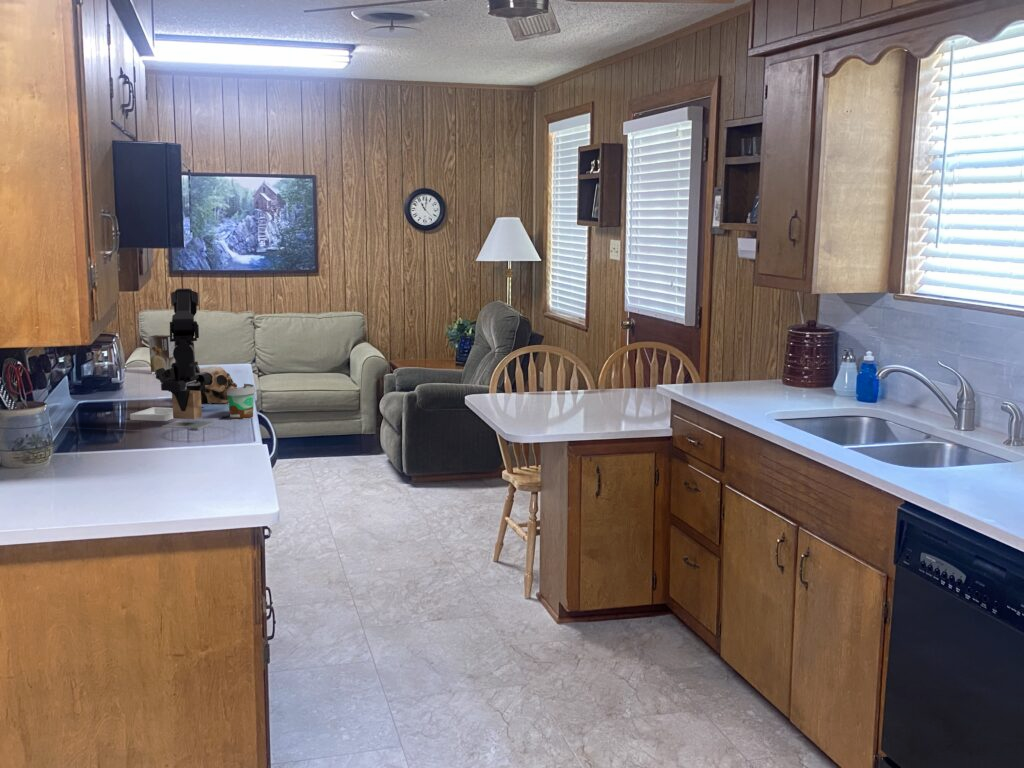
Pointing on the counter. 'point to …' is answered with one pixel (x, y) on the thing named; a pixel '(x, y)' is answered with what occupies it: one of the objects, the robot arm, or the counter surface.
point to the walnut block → (188, 406)
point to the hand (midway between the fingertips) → (187, 409)
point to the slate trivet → (189, 424)
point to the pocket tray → (153, 414)
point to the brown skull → (217, 385)
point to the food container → (241, 401)
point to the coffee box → (161, 352)
